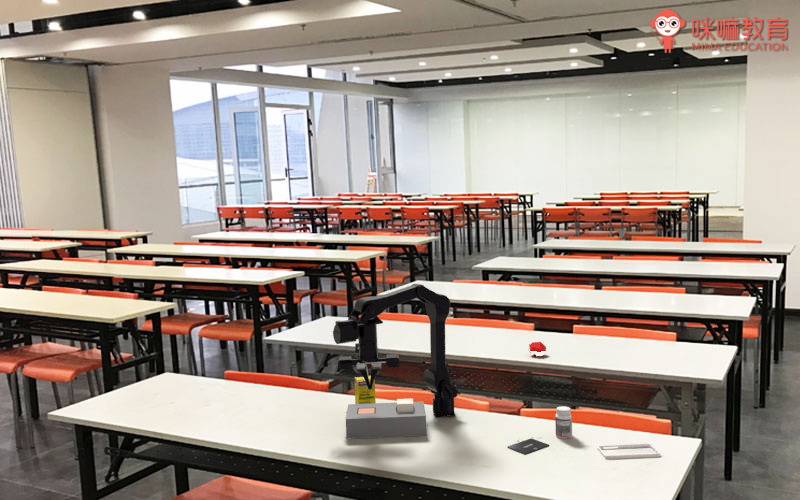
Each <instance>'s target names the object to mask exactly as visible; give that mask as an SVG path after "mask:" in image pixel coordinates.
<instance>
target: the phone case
mask: <svg viewBox="0 0 800 500" xmlns="http://www.w3.org/2000/svg"><path fill="white" fill-rule="evenodd" d="M596 447H597V448H596V449H597V451H598V453H600V454H601V456H602V457H603V458H604V459H607V460H615V459H616V460H617V459H618V460H619V459H637V458H657V457H658V458H659V457H661V452H660V451H659V450H658V449H656V447H654V446H653V445H652V444H651V443H635V444H634V443H631V444H612V445H610V444H609V445H605V444H604V445H597V446H596ZM615 447H616V448H618V449H628V448H629V449H630V448H650V449H653V450H654V451H655V452H654V453H632V454H606V453H604V451H603V450H604V449H605V448H615Z"/></svg>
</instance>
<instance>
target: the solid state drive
mask: <svg viewBox="0 0 800 500" xmlns="http://www.w3.org/2000/svg"><path fill="white" fill-rule="evenodd" d="M548 447H550V444H548V443H546V442H543V441H540V440H538V439H534V438H528V439H525V440H522V441H518V442H517V443H514V444H511V445H508V446H507V449H509V450H512V451H515V452H517V453H518V454H519V453H520V454H522V455H528V454H531V453H533V452H537V451H539V450H543V449H545V448H548Z"/></svg>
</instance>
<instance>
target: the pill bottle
mask: <svg viewBox="0 0 800 500" xmlns="http://www.w3.org/2000/svg"><path fill="white" fill-rule="evenodd" d="M571 411H572V410H571V408H570V407H569V406H566V405H565V406H557V407H556V414H555V418H554V419H555V421H554V422H555V425H554V426H555V437H557V438H559V439H565V440H568V439H571V438H572V437H573V416H572V414H571V413H572V412H571Z"/></svg>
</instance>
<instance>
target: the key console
mask: <svg viewBox="0 0 800 500" xmlns="http://www.w3.org/2000/svg"><path fill="white" fill-rule="evenodd" d="M413 405H414V412H397V401H396V402H377V403H370V404H355V403H352V404H351V403H350V404H349V403H348V404H347V411H346V415H345V433H346V435H345V437H346V439H348V440H349V439H368V438H369V439H372V438H396V437H418V436H420V437H421V436H427V433H428V431H427V414H426V409H425V403H424V401H423V400H422V401H413ZM361 408H375V413H371V414H358V410H359V409H361Z"/></svg>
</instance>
